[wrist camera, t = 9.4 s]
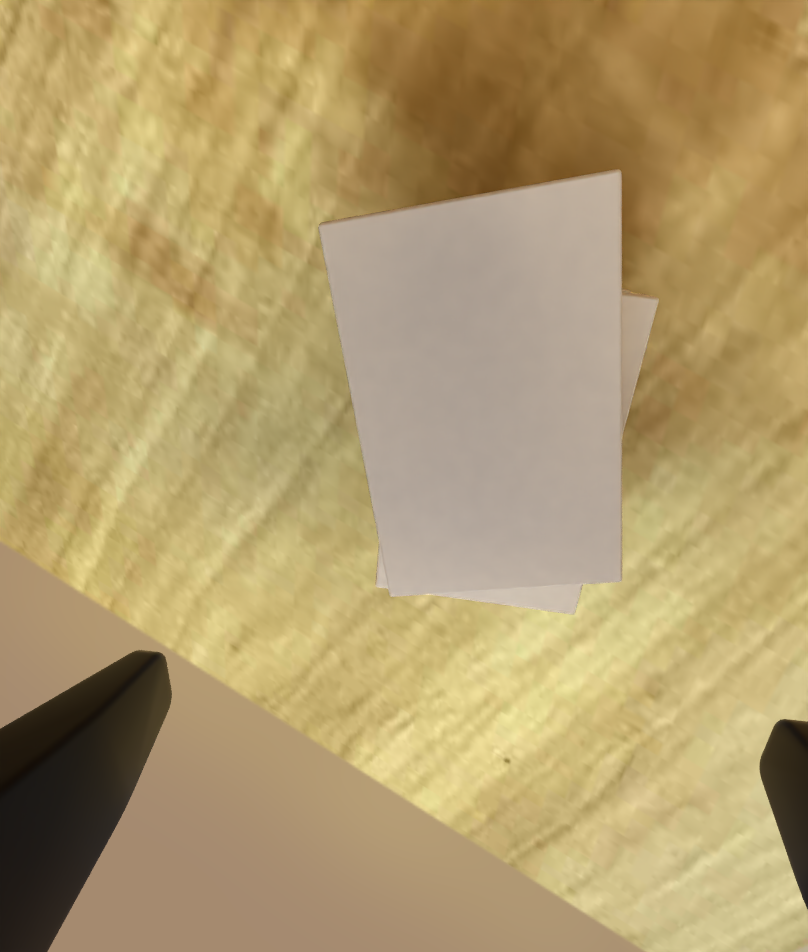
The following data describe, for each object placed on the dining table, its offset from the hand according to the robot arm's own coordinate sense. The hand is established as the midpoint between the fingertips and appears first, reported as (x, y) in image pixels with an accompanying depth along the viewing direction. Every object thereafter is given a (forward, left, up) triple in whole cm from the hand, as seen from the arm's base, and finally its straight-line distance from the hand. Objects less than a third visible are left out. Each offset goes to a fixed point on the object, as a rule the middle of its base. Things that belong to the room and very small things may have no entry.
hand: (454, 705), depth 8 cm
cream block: (0, +2, -9) cm, 9 cm away
